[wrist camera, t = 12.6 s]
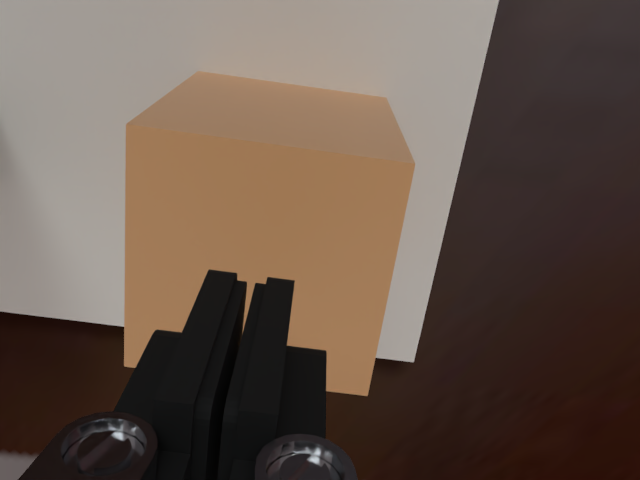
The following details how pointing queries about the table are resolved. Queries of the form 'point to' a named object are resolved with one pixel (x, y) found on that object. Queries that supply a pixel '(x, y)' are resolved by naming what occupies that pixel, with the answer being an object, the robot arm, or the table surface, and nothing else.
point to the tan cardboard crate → (267, 210)
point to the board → (170, 71)
